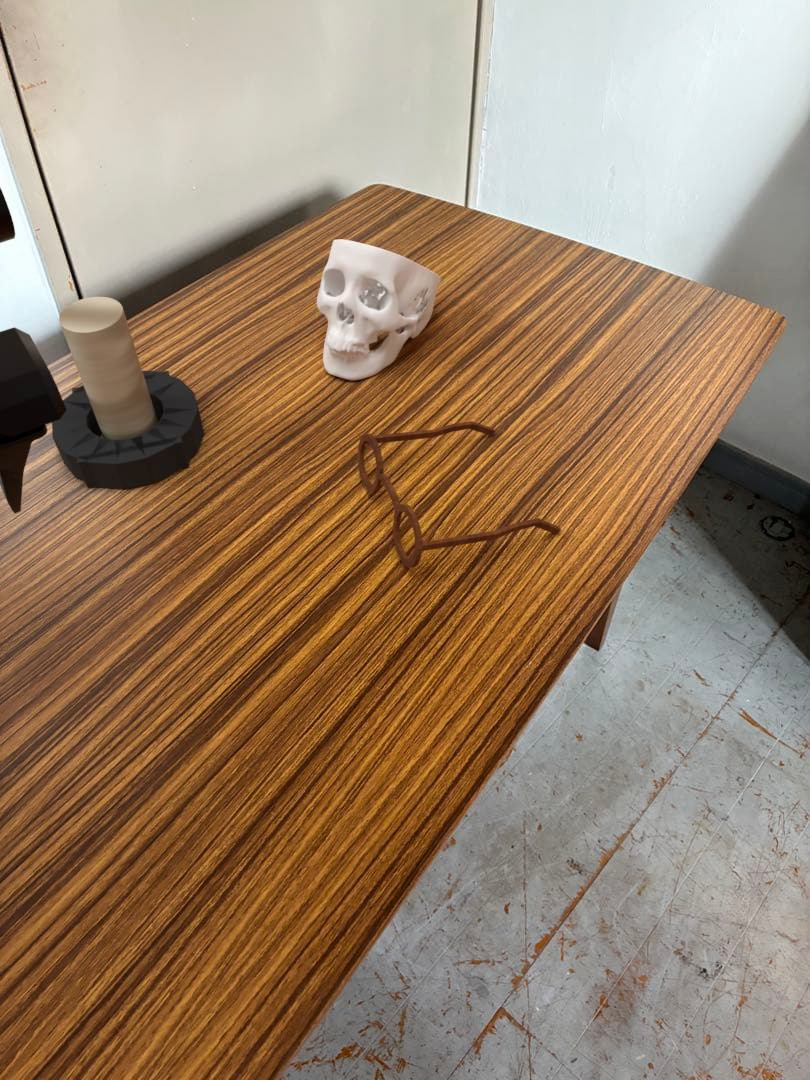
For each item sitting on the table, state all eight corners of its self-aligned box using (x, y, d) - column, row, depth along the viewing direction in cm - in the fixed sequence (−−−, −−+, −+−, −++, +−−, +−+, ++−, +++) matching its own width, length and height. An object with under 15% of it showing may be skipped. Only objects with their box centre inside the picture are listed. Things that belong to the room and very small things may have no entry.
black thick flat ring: (212, 471, 70) (206, 445, 68) (65, 502, 68) (53, 476, 65) (193, 385, 77) (186, 359, 75) (61, 410, 75) (50, 384, 73)
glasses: (355, 469, 70) (352, 425, 66) (493, 432, 73) (497, 388, 69) (410, 582, 62) (410, 540, 58) (563, 535, 65) (572, 492, 61)
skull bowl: (278, 362, 77) (304, 227, 73) (347, 359, 90) (372, 244, 86) (374, 394, 74) (407, 255, 70) (432, 387, 86) (463, 269, 82)
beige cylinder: (156, 458, 71) (115, 332, 61) (101, 458, 71) (51, 332, 61) (166, 421, 74) (128, 295, 64) (113, 422, 74) (67, 296, 64)
